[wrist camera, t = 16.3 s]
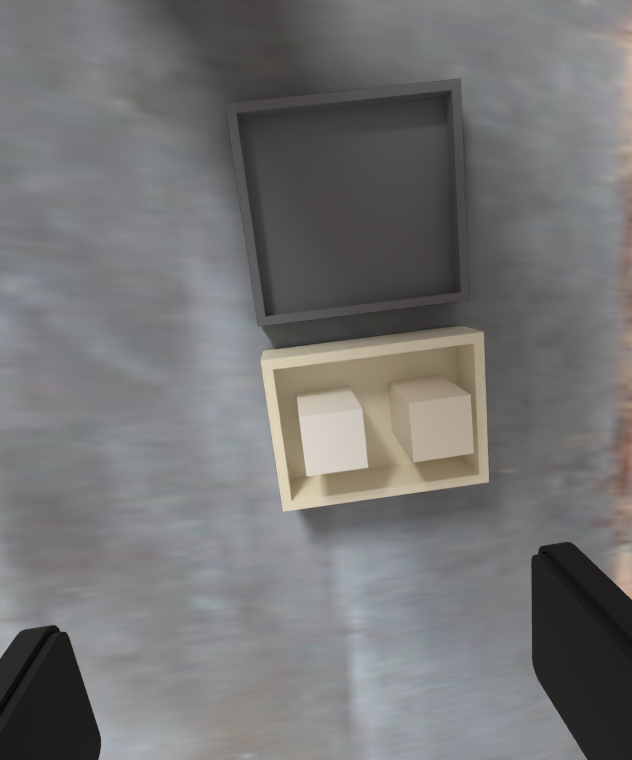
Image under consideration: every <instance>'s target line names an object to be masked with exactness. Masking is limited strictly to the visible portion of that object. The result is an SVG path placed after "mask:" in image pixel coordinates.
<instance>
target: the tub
mask: <svg viewBox="0 0 632 760" xmlns="http://www.w3.org/2000/svg"><path fill="white" fill-rule="evenodd" d="M261 366H262V373H263V380H264V386H265V393H266V400H267V407H268V413H269V420H270V427H271V433H272V440H273V447H274V454H275V460H276V467H277V474H278V481H279V487H280V494H281V501H282V508H283V512H284V511H291V510H298V509H305V508H312V507H319V506H326V505H333V504H340V503H347V502H354V501H361V500H368V499H375V498H382V497H389V496H396V495H403V494H410V493H417V492H424V491H431V490H438V489H445V488H452V487H459V486H466V485H473V484H480V483H487V482H489V469H488V439H487V410H486V381H485V352H484V332H483V331H479V330H476V329H472V328H469V327H465V326H462V325H460V326H452V327H445V328H437V329H429V330H421V331H413V332H406V333H398V334H390V335H382V336H374V337H367V338H359V339H351V340H343V341H335V342H328V343H320V344H312V345H304V346H296V347H289V348H281V349H273V350H265V351H263V354H262V357H261ZM439 374H440V375H441V376H443V377H444V378H446V379H447V380H449V381H450V382H452V383H454V384H455V385H457V386H458V387H460V388H461V389H463V390H464V391H466V392H468V393H469V394H471V410H472V428H473V446H474V453H472V454H466V455H459V456H452V457H446V458H439V459H433V460H426V461H419V462H413V461H412V459H411V458H410V456H409V455H408V453H407V452H406V451H405V449H404V448H403V446H402V445H401V443H400V442H399V440H398V439H397V438H396V436H395V435H394V433H393V432H392V422H391V412H390V402H389V391H388V382H390V381H397V380H404V379H411V378H418V377H425V376H432V375H439ZM346 386H349V387H350V389H351V390H352V392H353V394H354V395H355V397H356V399H357V400H358V402H359V404H360V406H361V407H362V410H363V420H364V431H365V441H366V451H367V462H368V468H363V469H355V470H348V471H341V472H334V473H326V474H319V475H312V476H307V475H306V467H305V460H304V452H303V444H302V437H301V429H300V421H299V413H298V404H297V395H296V393H300V392H308V391H315V390H323V389H331V388H338V387H346Z"/></svg>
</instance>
